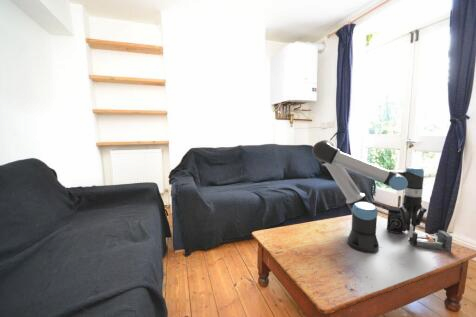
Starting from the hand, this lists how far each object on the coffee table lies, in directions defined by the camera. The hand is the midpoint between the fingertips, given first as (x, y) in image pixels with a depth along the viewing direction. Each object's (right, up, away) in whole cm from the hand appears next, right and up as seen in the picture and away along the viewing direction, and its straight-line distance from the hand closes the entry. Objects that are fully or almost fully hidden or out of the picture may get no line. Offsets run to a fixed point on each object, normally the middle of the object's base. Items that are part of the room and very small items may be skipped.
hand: (409, 236), depth 119 cm
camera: (+4, -3, +15) cm, 16 cm away
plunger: (+5, -3, -1) cm, 6 cm away
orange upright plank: (+9, -4, -2) cm, 10 cm away
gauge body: (+9, -5, -2) cm, 10 cm away
